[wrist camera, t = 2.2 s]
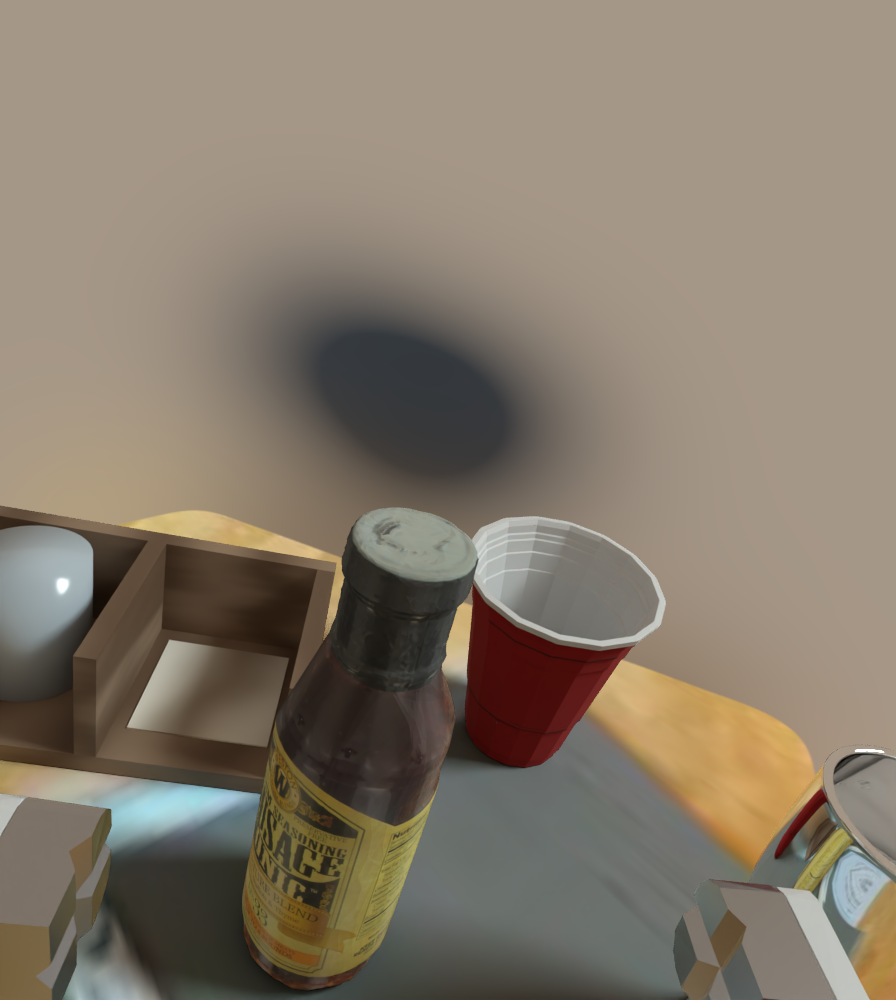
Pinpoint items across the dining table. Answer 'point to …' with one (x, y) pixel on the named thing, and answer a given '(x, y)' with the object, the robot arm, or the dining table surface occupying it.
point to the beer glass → (846, 857)
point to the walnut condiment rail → (175, 658)
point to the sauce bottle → (357, 754)
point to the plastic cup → (548, 631)
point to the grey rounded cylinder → (42, 609)
